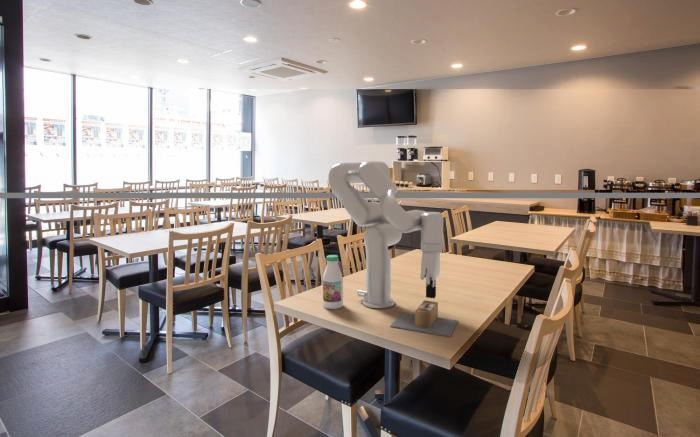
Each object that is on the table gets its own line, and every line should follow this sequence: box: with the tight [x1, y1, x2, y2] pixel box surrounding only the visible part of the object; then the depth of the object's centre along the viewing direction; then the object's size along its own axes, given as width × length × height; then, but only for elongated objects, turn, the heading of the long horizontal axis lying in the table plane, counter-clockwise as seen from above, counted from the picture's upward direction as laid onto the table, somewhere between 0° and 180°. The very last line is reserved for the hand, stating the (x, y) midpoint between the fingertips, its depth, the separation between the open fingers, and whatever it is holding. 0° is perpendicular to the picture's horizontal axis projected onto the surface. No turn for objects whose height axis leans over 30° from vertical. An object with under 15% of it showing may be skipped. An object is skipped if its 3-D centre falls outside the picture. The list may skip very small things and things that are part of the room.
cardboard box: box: [414, 299, 439, 328], centre depth 138 cm, size 5×5×12 cm
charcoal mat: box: [389, 311, 459, 338], centre depth 136 cm, size 20×14×1 cm
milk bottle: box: [322, 254, 344, 310], centre depth 153 cm, size 8×8×20 cm
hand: (430, 297), depth 142 cm, fingers closed
